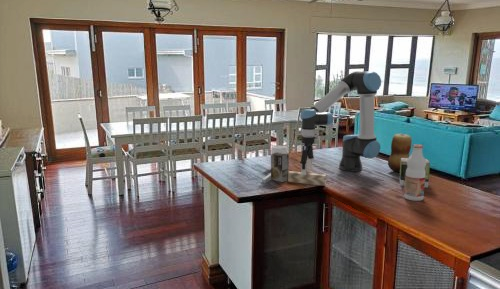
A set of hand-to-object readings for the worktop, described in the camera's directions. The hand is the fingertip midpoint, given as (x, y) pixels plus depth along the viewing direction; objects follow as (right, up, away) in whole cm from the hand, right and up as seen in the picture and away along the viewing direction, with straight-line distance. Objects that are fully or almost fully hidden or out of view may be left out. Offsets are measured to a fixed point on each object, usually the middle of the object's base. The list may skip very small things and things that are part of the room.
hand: (306, 172), depth 223 cm
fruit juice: (+52, -12, -26) cm, 59 cm away
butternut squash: (+64, -2, +26) cm, 69 cm away
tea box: (+62, -7, -2) cm, 62 cm away
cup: (-14, 0, +35) cm, 37 cm away
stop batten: (-21, -5, +10) cm, 24 cm away
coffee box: (-15, -6, +8) cm, 18 cm away
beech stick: (0, -7, +1) cm, 7 cm away
